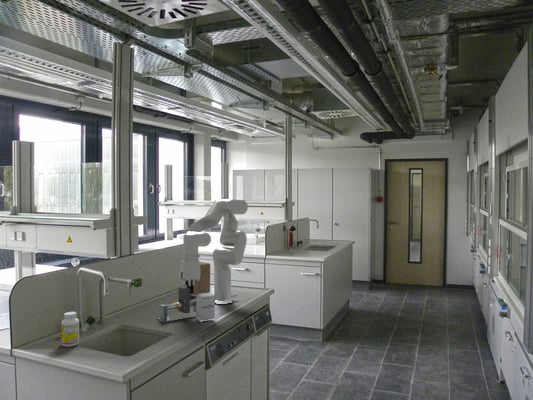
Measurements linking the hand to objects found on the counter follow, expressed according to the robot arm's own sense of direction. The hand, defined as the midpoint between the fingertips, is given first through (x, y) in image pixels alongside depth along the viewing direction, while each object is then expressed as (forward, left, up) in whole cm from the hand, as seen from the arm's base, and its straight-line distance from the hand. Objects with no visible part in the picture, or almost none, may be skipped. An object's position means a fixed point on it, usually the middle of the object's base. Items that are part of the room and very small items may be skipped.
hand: (190, 293), depth 224 cm
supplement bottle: (+60, +7, -12) cm, 62 cm away
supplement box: (-2, +12, -12) cm, 17 cm away
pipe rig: (+5, 0, -11) cm, 13 cm away
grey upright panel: (+3, 0, -9) cm, 10 cm away
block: (-27, -34, -12) cm, 45 cm away
